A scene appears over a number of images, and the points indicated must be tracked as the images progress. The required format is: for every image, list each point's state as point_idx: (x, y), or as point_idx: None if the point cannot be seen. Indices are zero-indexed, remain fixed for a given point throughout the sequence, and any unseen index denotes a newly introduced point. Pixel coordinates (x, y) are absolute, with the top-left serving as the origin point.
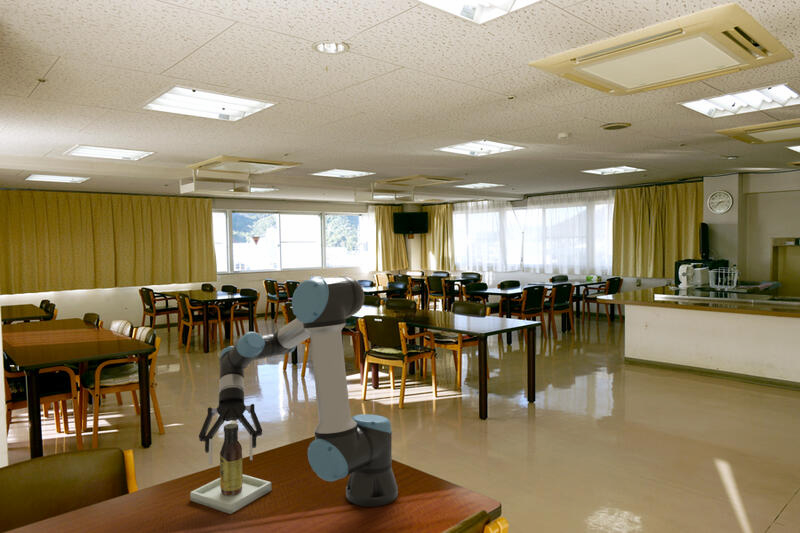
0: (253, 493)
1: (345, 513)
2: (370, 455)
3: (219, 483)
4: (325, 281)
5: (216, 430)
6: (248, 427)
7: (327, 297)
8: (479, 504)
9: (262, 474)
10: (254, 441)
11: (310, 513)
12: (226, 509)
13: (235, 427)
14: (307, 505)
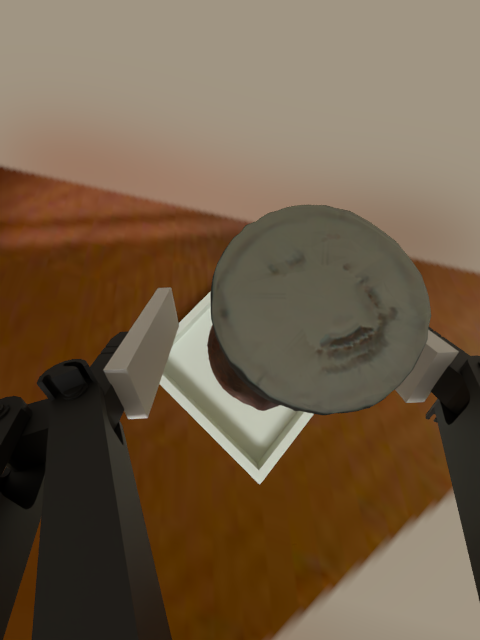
0: (191, 311)
1: (7, 214)
2: None
3: (291, 420)
4: None
5: (475, 495)
6: (95, 453)
7: None
8: None
9: (167, 489)
10: (115, 350)
11: (77, 230)
12: None
13: (244, 229)
14: (75, 265)
